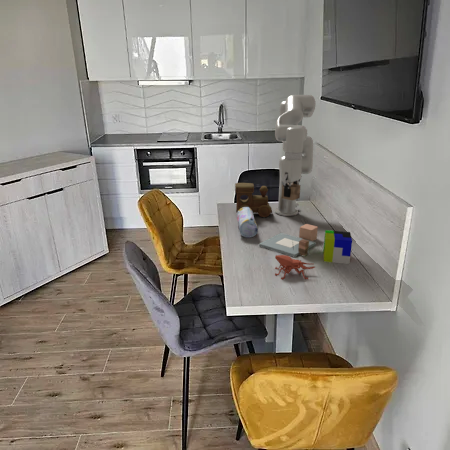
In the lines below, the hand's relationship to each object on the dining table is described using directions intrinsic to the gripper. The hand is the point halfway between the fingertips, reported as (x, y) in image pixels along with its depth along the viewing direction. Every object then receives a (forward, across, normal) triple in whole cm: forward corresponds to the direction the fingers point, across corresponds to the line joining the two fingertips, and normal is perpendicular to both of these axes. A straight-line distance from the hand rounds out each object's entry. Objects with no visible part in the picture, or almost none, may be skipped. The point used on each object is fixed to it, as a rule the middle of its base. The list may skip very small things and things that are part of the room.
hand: (290, 195), depth 182 cm
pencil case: (+20, +8, -19) cm, 29 cm away
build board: (+20, +11, +6) cm, 23 cm away
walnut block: (+1, 0, 0) cm, 1 cm away
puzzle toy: (+20, +9, +28) cm, 36 cm away
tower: (+20, +15, +16) cm, 30 cm away
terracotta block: (+20, -2, +9) cm, 22 cm away
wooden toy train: (+20, -14, -31) cm, 39 cm away
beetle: (+20, +32, +22) cm, 44 cm away
